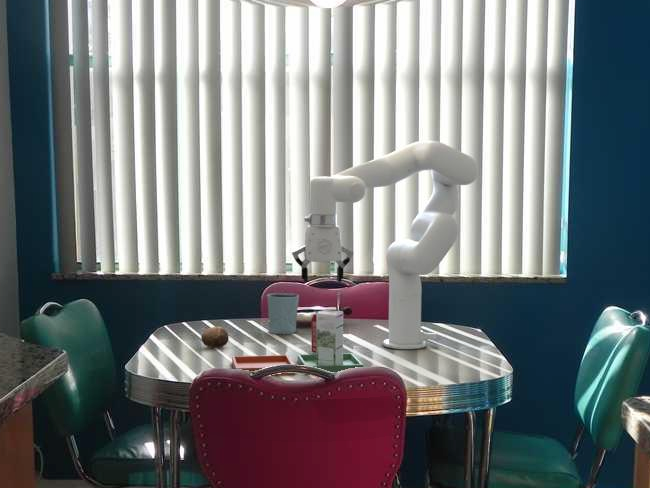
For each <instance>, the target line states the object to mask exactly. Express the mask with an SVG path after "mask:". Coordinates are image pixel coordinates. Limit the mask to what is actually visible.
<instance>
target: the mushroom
mask: <svg viewBox="0 0 650 488" xmlns="http://www.w3.org/2000/svg"><path fill="white" fill-rule="evenodd" d="M229 337H230V336H229V333H228V331H227V330H226V329H225V328H224V327H223V326H222V327H221V326H213V327H210V328H208V329H206V330H204V331H203V332H202V334H201V335H200V338H201V342H202V343H203V345H204V346H205V347H207V348H209V349H219V348H223V347H225V346H226V345H227V344H228V342H229V339H230V338H229Z"/></svg>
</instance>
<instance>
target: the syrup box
mask: <svg viewBox="0 0 650 488" xmlns="http://www.w3.org/2000/svg"><path fill="white" fill-rule="evenodd" d="M317 312H318V311H317ZM316 324H317V366H321V365H342V364H343V353H344V311H343V310H329V309H328V310H327V309H323V310H319V312H318V313H317V314H316Z"/></svg>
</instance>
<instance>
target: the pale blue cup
mask: <svg viewBox="0 0 650 488" xmlns="http://www.w3.org/2000/svg"><path fill="white" fill-rule="evenodd" d="M266 298H267V308H268V312H267V313H268V314H267V315H268V332H269V333H270V334H274V335H292V334H295V333H296V331H297V319H298V309H299V301H300V300H299V299H300V295H299V294H298V293H297V294H296V293H288V292H273V293H268V294H267V295H266Z"/></svg>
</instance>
